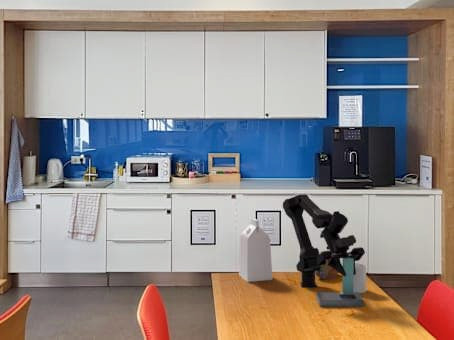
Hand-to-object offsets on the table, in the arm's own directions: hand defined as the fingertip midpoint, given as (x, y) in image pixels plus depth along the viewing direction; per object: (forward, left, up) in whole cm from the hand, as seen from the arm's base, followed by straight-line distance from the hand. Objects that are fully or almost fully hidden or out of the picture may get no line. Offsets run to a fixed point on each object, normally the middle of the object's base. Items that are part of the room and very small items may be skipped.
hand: (350, 275), depth 217 cm
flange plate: (-2, -4, -11) cm, 12 cm away
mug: (-20, +5, -11) cm, 24 cm away
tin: (-41, -3, -11) cm, 43 cm away
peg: (-1, -1, -7) cm, 7 cm away
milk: (-41, -35, -11) cm, 55 cm away
